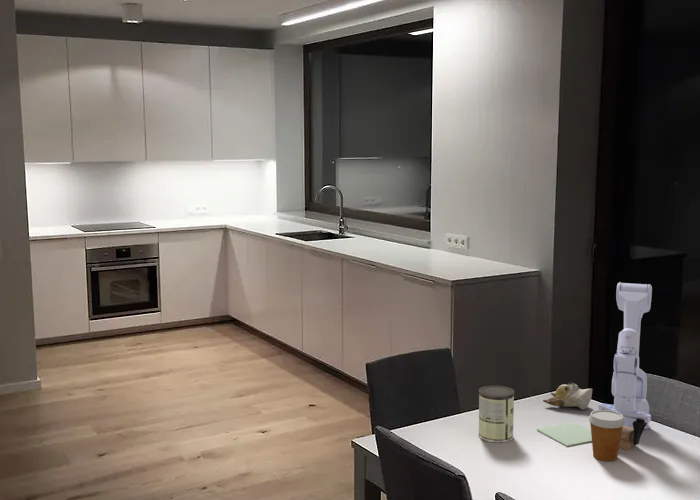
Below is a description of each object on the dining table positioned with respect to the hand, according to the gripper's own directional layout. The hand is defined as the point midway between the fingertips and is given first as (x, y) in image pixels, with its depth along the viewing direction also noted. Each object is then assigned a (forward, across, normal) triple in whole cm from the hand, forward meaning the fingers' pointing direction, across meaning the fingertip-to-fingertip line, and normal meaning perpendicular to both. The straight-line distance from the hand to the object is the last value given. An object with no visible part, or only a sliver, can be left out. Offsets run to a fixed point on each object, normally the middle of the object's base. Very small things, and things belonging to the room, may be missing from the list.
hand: (623, 440), depth 218 cm
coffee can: (+2, -30, -19) cm, 36 cm away
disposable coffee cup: (+2, 0, -11) cm, 11 cm away
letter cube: (+2, 0, 0) cm, 2 cm away
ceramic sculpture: (+2, -27, +20) cm, 34 cm away
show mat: (+1, -15, -3) cm, 15 cm away
